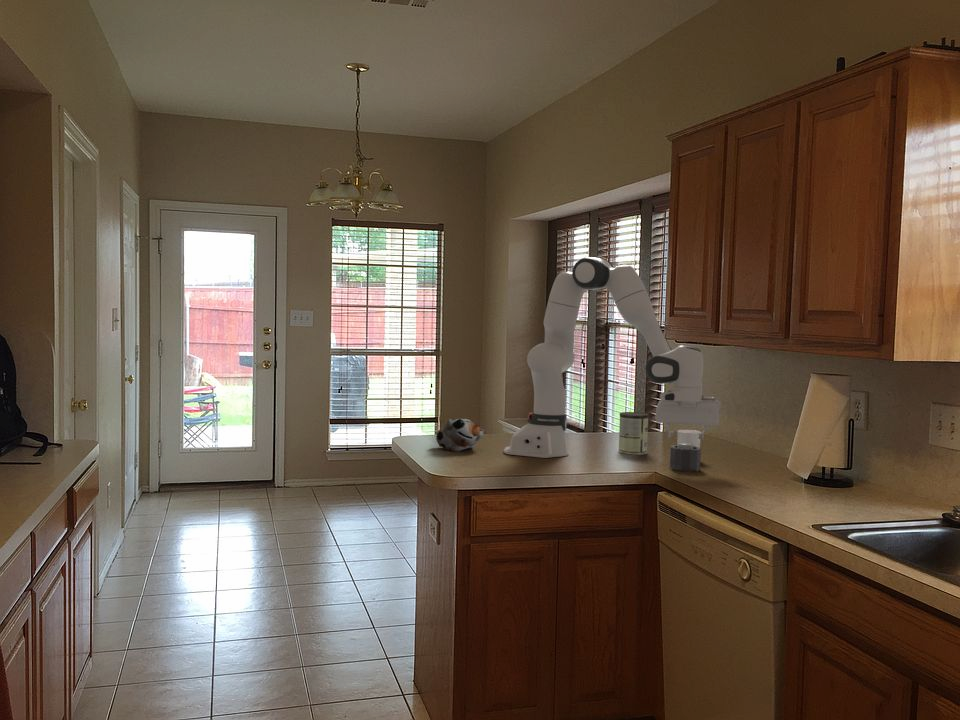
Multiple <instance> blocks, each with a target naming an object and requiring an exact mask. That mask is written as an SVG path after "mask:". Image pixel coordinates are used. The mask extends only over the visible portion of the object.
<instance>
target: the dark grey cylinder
mask: <svg viewBox="0 0 960 720" xmlns="http://www.w3.org/2000/svg"><path fill="white" fill-rule="evenodd" d="M677 446H678V444H676V445H675V444H674V445H670V452H669V469H670V468H672V469H671V470H673V469H677V470H683V471H682V472H687V471H694V472H698V471H697V470H701V455H702V454H701V452H702V448H701V447H700V448H699V447H696V446H693V449H680V448H677ZM677 470H676V471H677Z"/></svg>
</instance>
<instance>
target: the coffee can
mask: <svg viewBox="0 0 960 720" xmlns="http://www.w3.org/2000/svg"><path fill="white" fill-rule="evenodd" d="M649 417H650V415H649V413H645V412H640V411H639V412H638V411H622V412H620V413H619V426H618V427H619V430H618V431H619V432H618V453H620V454H625V455H638V456H639V455H646V454H648V435H649V434H648V433H649V432H648V431H649Z"/></svg>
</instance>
